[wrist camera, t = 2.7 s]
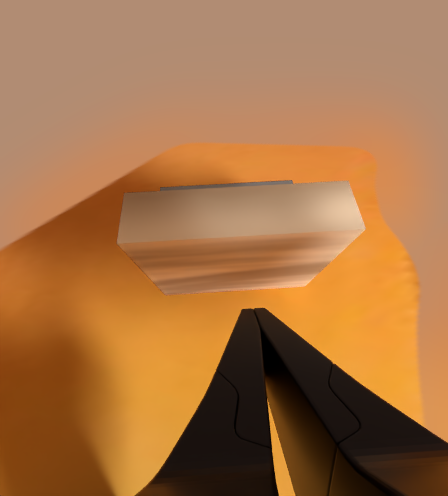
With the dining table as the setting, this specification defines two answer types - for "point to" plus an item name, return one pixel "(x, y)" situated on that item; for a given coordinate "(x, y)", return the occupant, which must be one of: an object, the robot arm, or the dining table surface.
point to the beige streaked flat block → (238, 235)
